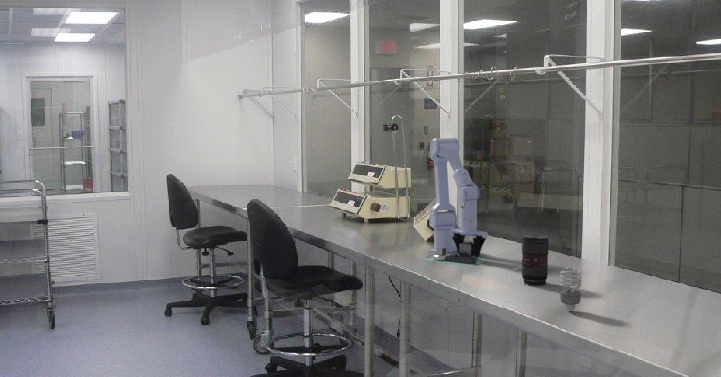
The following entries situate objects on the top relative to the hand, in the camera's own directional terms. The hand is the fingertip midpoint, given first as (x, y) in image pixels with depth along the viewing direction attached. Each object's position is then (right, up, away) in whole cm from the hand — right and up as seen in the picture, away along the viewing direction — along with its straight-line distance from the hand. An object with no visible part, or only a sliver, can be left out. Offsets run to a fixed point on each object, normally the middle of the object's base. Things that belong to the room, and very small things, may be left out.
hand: (468, 255), depth 273 cm
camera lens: (+15, -6, -39) cm, 42 cm away
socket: (0, -1, 0) cm, 1 cm away
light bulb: (+17, -9, -72) cm, 74 cm away
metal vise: (-6, -2, -3) cm, 7 cm away
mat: (-4, -2, 0) cm, 5 cm away
